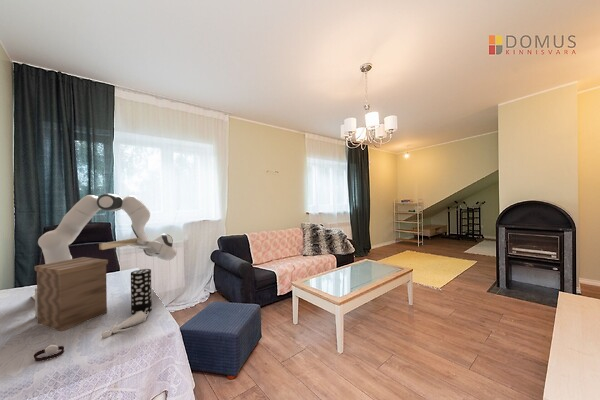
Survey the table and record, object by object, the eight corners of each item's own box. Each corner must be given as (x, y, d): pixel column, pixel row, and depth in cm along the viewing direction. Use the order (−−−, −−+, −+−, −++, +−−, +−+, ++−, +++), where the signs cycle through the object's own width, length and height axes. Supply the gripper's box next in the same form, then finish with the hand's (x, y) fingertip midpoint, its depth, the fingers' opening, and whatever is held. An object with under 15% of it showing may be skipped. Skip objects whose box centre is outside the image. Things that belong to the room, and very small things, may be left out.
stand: (35, 323, 104) (34, 266, 104) (84, 306, 121) (83, 256, 121) (60, 332, 97) (59, 270, 97) (108, 312, 114) (107, 259, 114)
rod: (99, 249, 120) (99, 243, 120) (138, 242, 139) (137, 237, 139) (102, 249, 119) (102, 243, 119) (141, 242, 138) (141, 237, 138)
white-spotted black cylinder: (155, 309, 116) (154, 269, 116) (137, 317, 109) (137, 274, 109) (145, 306, 120) (144, 268, 120) (127, 314, 112) (126, 272, 112)
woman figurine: (155, 310, 106) (109, 334, 90) (155, 320, 106) (110, 345, 90) (139, 306, 111) (93, 327, 94) (139, 315, 111) (94, 338, 95)
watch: (67, 350, 85) (67, 340, 85) (60, 358, 81) (60, 347, 81) (38, 356, 82) (38, 346, 82) (29, 364, 78) (29, 354, 78)
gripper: (144, 242, 152) (125, 234, 141) (167, 244, 145) (148, 236, 133) (140, 251, 149) (119, 244, 138) (162, 254, 142) (143, 246, 130)
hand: (134, 240), depth 136 cm, fingers closed on rod, 3 cm apart
